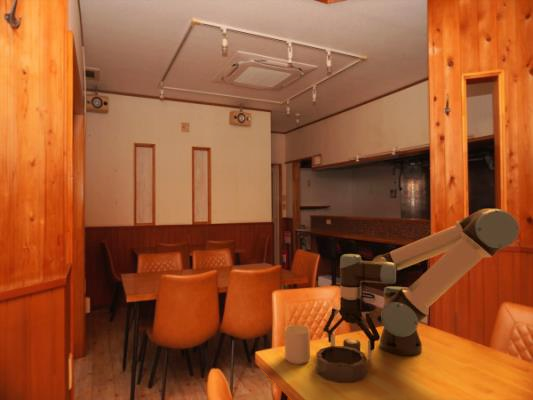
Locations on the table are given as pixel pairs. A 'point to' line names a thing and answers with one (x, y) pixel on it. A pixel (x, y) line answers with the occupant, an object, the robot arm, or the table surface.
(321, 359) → the brown ring
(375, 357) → the table surface
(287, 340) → the mug
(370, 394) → the table surface
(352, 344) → the brown short cylinder
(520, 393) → the table surface
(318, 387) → the table surface
